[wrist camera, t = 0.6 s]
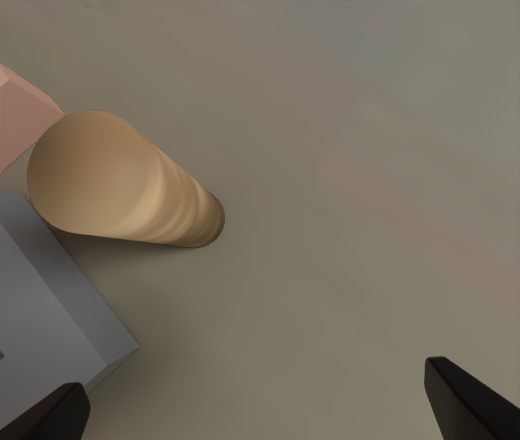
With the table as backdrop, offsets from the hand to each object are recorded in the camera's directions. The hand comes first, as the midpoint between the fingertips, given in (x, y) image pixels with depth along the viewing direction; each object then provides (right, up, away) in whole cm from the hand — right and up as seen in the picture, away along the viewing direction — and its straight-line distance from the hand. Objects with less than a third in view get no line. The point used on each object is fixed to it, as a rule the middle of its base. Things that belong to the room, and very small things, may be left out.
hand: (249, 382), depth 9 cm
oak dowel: (-4, +4, +14) cm, 15 cm away
